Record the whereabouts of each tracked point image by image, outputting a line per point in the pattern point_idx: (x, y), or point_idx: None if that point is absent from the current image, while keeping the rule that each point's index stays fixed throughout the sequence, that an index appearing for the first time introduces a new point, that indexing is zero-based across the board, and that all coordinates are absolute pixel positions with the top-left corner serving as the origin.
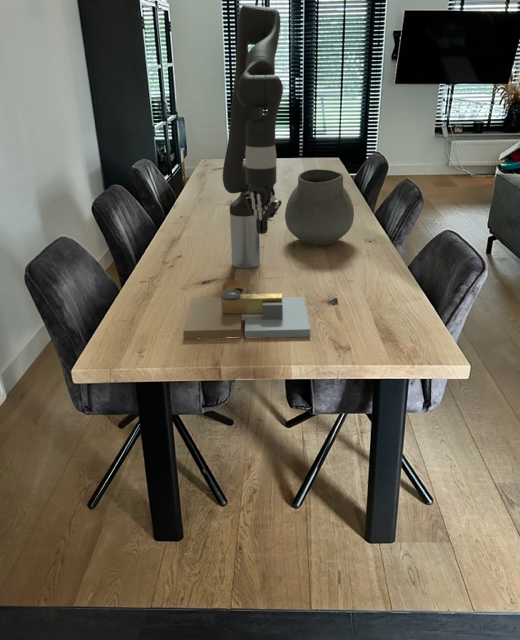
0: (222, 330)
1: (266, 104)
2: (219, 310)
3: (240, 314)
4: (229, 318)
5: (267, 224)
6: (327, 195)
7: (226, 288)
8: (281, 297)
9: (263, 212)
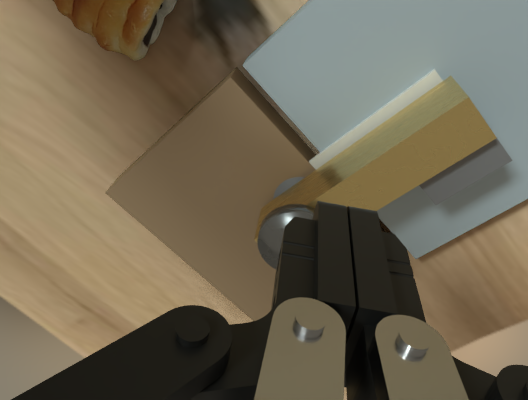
0: None
1: None
2: (254, 210)
3: None
4: None
5: (415, 287)
6: None
7: (111, 48)
8: (491, 135)
9: (338, 382)
